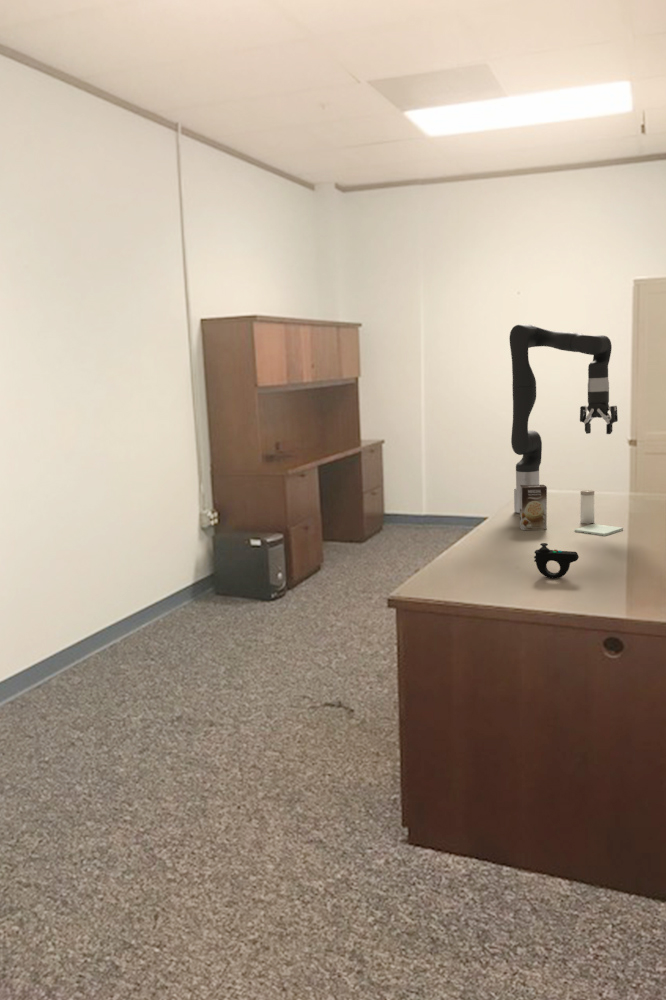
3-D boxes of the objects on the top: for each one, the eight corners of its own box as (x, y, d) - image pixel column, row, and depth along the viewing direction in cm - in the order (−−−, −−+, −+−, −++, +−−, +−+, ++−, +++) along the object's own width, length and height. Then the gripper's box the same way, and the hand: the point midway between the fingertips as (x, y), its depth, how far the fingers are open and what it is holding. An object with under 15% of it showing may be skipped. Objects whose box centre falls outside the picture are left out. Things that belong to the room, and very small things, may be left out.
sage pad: (574, 531, 286) (574, 529, 286) (593, 525, 294) (593, 523, 294) (604, 535, 277) (604, 533, 277) (623, 529, 285) (623, 527, 285)
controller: (536, 574, 234) (535, 541, 232) (579, 577, 228) (579, 543, 227) (533, 578, 230) (532, 544, 228) (577, 581, 224) (577, 547, 223)
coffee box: (521, 530, 293) (521, 487, 290) (519, 527, 299) (518, 484, 296) (547, 529, 292) (547, 486, 289) (544, 526, 298) (544, 483, 295)
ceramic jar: (577, 522, 300) (577, 491, 298) (585, 520, 304) (585, 489, 302) (589, 524, 297) (589, 492, 295) (596, 522, 300) (597, 490, 298)
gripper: (575, 391, 298) (576, 434, 300) (610, 390, 287) (610, 435, 290) (586, 389, 303) (587, 432, 305) (621, 389, 292) (621, 433, 294)
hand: (598, 433), depth 297 cm, fingers open, 8 cm apart
